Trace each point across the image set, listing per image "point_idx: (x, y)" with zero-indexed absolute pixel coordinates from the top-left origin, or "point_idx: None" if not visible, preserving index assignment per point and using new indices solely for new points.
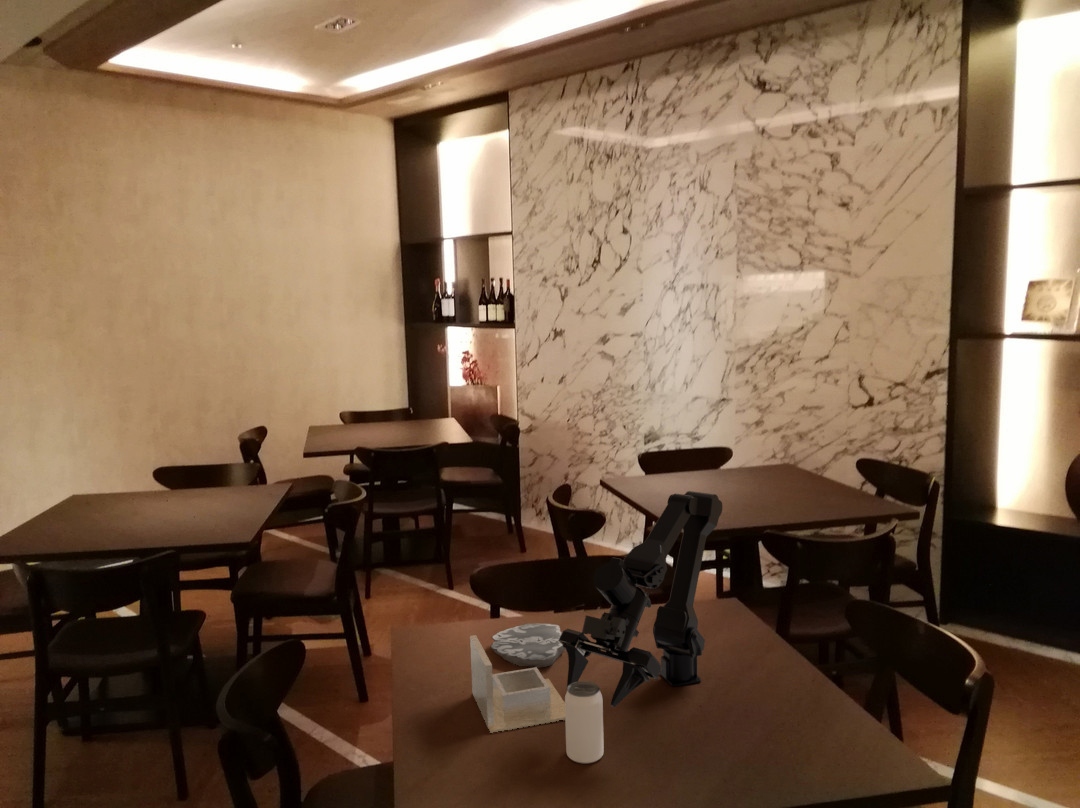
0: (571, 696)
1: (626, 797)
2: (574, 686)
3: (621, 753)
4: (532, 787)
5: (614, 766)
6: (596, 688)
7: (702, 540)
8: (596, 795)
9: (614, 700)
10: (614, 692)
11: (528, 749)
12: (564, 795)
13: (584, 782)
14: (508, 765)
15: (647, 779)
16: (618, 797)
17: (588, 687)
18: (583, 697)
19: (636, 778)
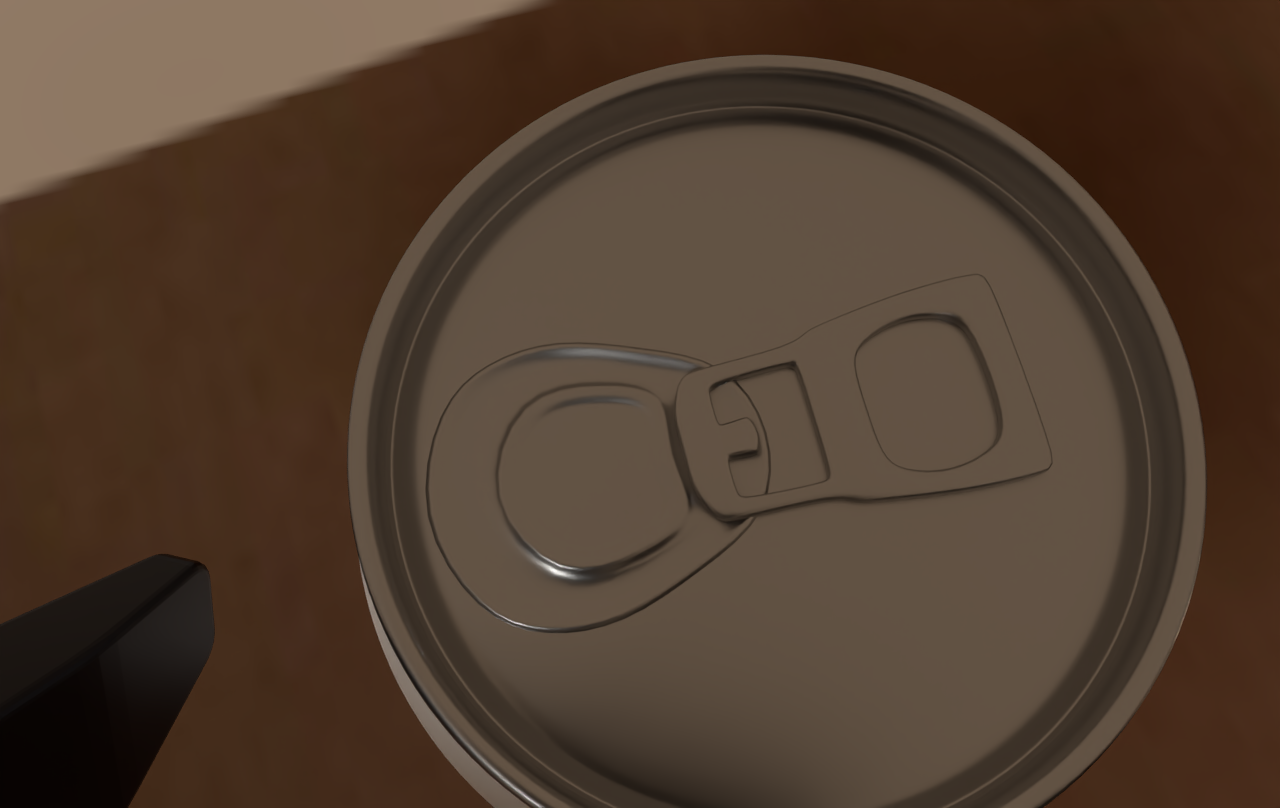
0: (906, 123)
1: (171, 160)
2: (1063, 525)
3: (375, 757)
4: (898, 3)
5: None
6: (493, 651)
7: None
8: (398, 98)
9: (85, 590)
10: (28, 694)
11: (1244, 462)
12: (627, 11)
13: None
14: (1247, 175)
15: (51, 443)
16: (230, 138)
17: (706, 616)
18: (615, 106)
19: (146, 420)
